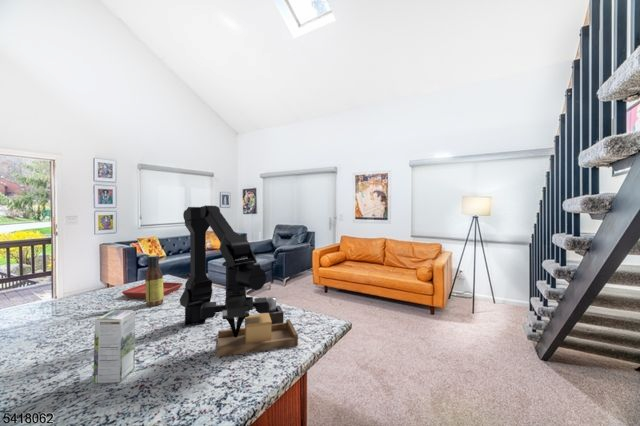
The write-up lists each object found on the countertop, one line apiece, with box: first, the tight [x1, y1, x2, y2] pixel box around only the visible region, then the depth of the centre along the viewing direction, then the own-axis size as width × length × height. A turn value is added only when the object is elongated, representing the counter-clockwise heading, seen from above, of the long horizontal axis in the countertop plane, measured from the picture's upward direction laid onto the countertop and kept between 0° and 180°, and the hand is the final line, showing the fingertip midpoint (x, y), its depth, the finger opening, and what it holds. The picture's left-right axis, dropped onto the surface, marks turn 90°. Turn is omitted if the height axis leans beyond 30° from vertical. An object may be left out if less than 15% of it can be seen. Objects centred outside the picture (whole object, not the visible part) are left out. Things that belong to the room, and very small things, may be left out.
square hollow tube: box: [259, 305, 284, 324], centre depth 96 cm, size 7×7×4 cm
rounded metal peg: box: [266, 296, 277, 313], centre depth 96 cm, size 3×3×7 cm
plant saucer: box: [121, 281, 184, 299], centre depth 129 cm, size 18×18×3 cm
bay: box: [216, 318, 299, 358], centre depth 82 cm, size 22×12×3 cm, turn 108°
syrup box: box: [92, 309, 137, 384], centre depth 65 cm, size 6×6×14 cm
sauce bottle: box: [144, 254, 165, 307], centre depth 114 cm, size 7×6×20 cm
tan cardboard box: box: [244, 313, 272, 344], centre depth 82 cm, size 7×7×6 cm
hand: (235, 336), depth 80 cm, fingers closed
